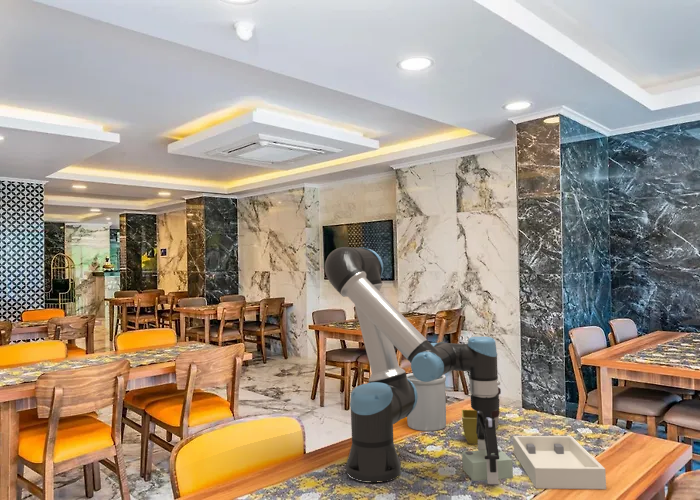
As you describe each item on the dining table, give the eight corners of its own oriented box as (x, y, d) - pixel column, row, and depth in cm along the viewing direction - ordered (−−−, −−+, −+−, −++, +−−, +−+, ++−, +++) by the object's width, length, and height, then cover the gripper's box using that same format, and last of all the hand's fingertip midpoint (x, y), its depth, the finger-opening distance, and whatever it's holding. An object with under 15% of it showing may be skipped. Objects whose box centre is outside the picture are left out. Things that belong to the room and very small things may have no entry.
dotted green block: (473, 482, 130) (472, 462, 130) (462, 470, 138) (461, 451, 138) (513, 478, 131) (512, 458, 131) (500, 466, 139) (499, 448, 139)
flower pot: (491, 447, 153) (490, 418, 154) (463, 446, 155) (462, 417, 155) (489, 438, 162) (488, 410, 162) (462, 436, 164) (461, 409, 164)
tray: (536, 488, 125) (535, 468, 125) (513, 452, 149) (513, 435, 149) (606, 489, 123) (605, 468, 123) (572, 453, 147) (571, 436, 147)
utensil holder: (401, 420, 183) (400, 372, 184) (440, 417, 185) (439, 370, 186) (410, 433, 169) (409, 381, 169) (453, 430, 170) (451, 379, 171)
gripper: (508, 406, 123) (513, 493, 122) (489, 383, 147) (493, 455, 147) (478, 406, 123) (482, 493, 122) (464, 383, 148) (467, 455, 147)
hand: (488, 473), depth 134 cm, fingers open, 13 cm apart
